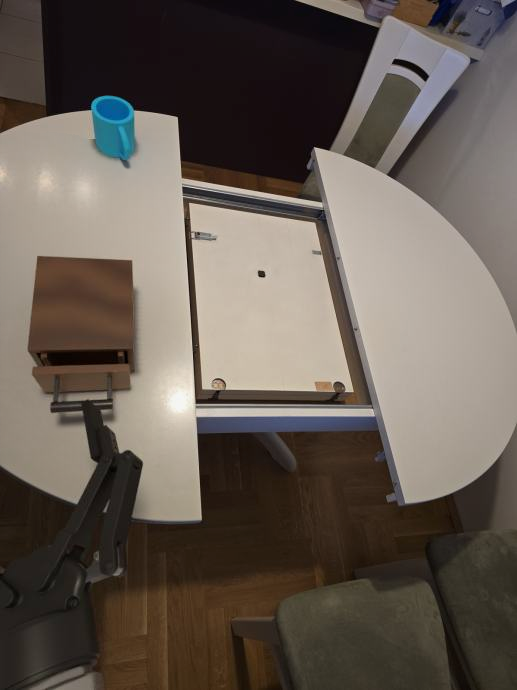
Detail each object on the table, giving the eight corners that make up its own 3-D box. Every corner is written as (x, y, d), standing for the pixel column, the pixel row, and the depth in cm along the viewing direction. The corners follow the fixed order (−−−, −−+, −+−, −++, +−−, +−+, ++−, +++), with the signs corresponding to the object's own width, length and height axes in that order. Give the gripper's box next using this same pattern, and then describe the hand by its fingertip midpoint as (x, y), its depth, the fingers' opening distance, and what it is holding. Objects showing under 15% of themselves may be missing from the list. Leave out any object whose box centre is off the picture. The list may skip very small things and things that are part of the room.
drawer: (130, 418, 61) (129, 404, 55) (41, 424, 58) (28, 410, 51) (130, 310, 69) (128, 286, 62) (51, 309, 65) (40, 283, 59)
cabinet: (134, 372, 66) (133, 348, 57) (43, 375, 62) (27, 350, 53) (133, 292, 72) (132, 260, 63) (50, 290, 68) (37, 255, 59)
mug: (90, 133, 85) (85, 97, 78) (126, 129, 88) (125, 94, 81) (109, 173, 82) (106, 139, 75) (147, 167, 85) (147, 134, 78)
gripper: (-91, 773, 29) (-66, 501, 41) (220, 604, 32) (155, 399, 44) (-204, 812, 23) (-135, 480, 35) (193, 599, 26) (127, 364, 38)
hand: (27, 435), depth 40 cm, fingers open, 13 cm apart
